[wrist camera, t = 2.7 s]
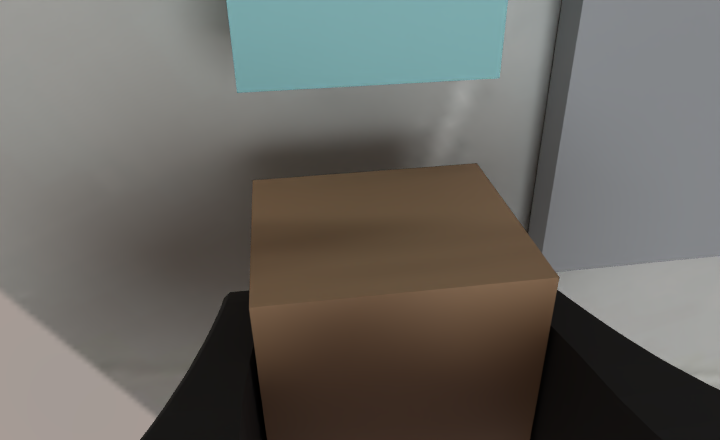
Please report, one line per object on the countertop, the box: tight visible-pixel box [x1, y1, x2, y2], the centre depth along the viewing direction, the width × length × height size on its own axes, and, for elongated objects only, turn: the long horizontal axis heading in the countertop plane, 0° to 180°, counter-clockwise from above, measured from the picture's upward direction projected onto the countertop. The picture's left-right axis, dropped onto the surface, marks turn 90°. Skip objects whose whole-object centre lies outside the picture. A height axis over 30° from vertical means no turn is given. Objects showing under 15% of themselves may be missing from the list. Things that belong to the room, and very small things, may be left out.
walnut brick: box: [249, 163, 559, 440], centre depth 12 cm, size 5×4×4 cm
